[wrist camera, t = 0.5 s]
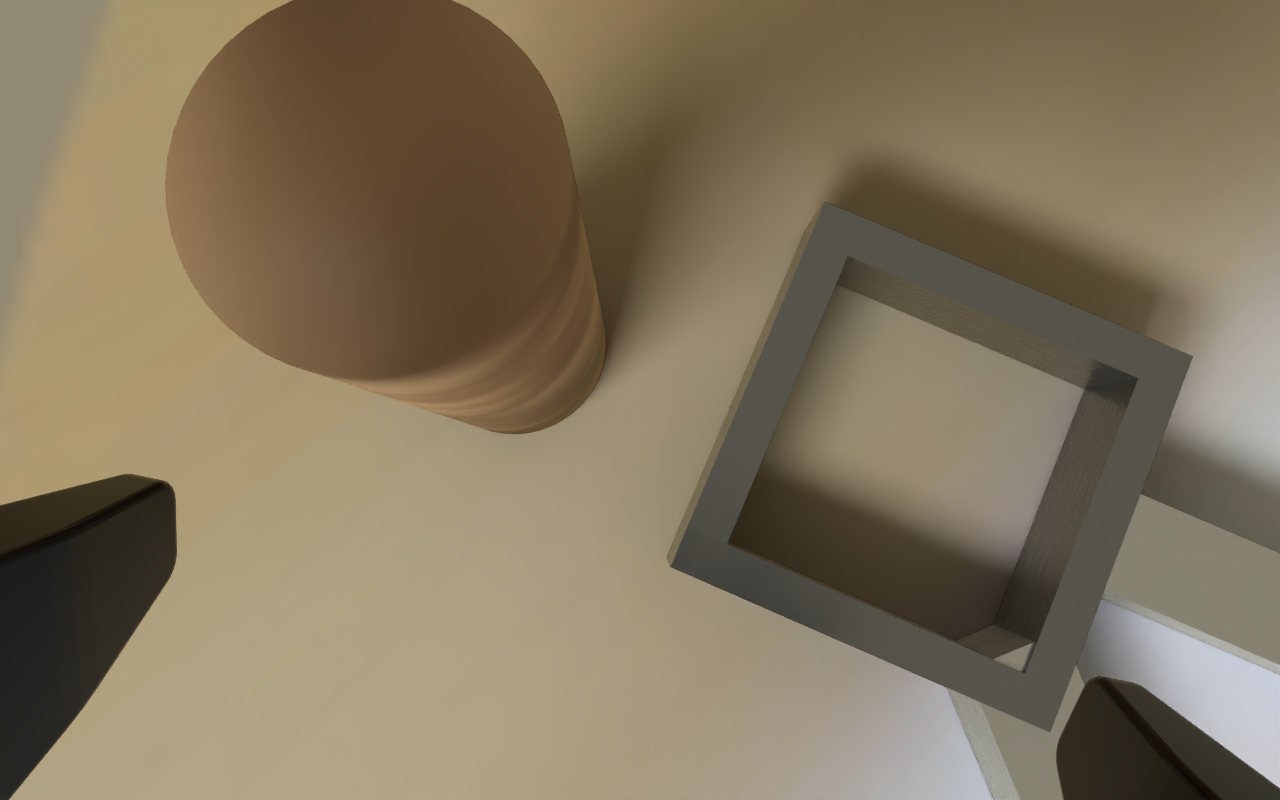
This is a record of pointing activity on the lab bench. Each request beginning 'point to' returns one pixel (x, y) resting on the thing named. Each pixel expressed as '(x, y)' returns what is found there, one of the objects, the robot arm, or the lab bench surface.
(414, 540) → the lab bench surface
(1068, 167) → the lab bench surface
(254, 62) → the walnut sleeve
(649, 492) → the lab bench surface
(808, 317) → the square collar with arms
